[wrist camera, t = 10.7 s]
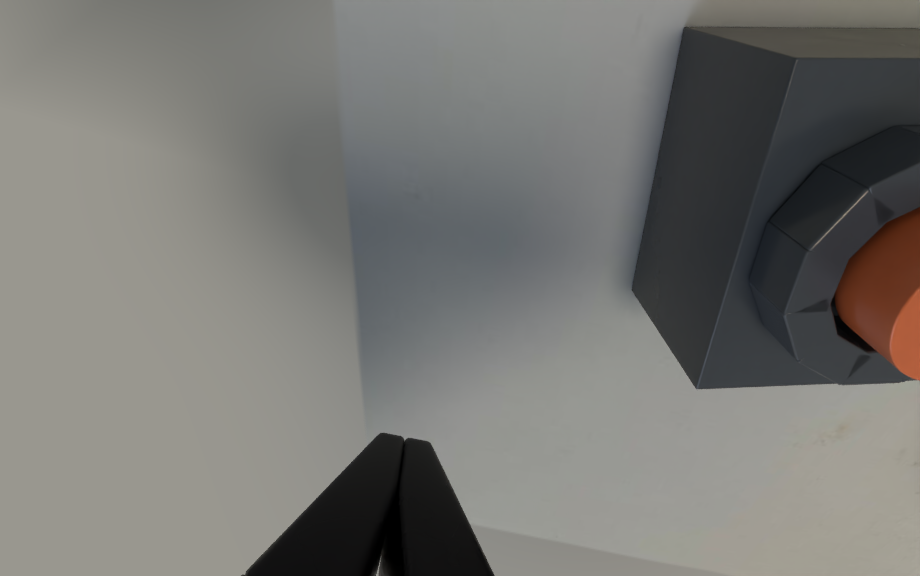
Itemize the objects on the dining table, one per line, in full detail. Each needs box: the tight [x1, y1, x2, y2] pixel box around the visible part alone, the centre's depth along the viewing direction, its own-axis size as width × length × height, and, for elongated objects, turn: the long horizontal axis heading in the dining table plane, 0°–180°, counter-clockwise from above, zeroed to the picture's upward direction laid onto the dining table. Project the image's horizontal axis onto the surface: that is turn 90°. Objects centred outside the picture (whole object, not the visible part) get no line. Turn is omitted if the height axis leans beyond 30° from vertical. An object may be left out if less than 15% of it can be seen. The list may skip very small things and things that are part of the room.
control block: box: [632, 27, 920, 389], centre depth 18 cm, size 12×10×8 cm
